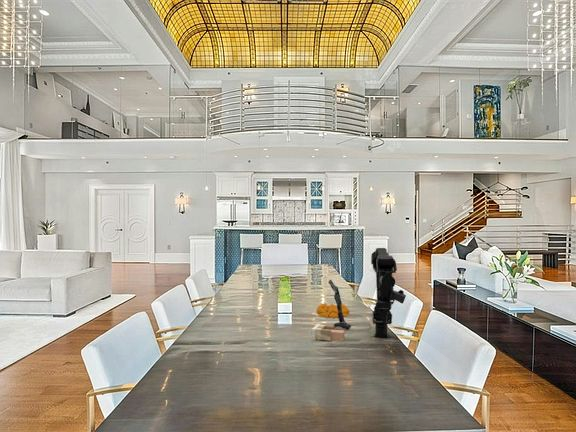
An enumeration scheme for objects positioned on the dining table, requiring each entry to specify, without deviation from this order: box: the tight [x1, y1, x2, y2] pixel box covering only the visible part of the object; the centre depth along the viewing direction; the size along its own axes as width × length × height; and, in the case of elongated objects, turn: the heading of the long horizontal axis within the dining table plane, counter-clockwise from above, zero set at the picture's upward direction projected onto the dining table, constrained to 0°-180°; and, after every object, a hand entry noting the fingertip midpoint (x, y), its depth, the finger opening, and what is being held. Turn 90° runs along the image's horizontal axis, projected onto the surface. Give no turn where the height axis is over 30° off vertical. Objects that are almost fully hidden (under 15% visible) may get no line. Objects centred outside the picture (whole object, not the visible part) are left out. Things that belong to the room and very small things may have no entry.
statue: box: [328, 279, 352, 332], centre depth 214 cm, size 10×12×25 cm
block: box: [315, 324, 335, 342], centre depth 197 cm, size 9×7×5 cm
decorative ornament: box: [316, 302, 350, 320], centre depth 248 cm, size 19×5×30 cm
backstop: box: [311, 323, 322, 341], centre depth 198 cm, size 10×2×5 cm, turn 161°
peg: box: [329, 329, 346, 342], centre depth 195 cm, size 4×10×4 cm, turn 73°
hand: (385, 320), depth 181 cm, fingers open, 9 cm apart
